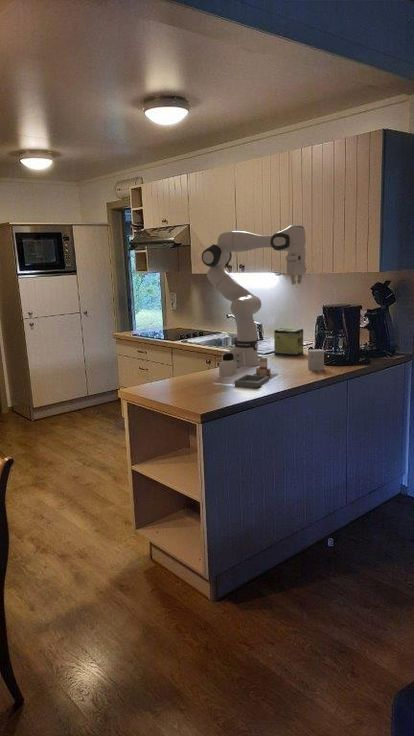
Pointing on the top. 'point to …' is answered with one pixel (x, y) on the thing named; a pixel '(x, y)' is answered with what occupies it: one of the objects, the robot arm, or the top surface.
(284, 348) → the protein box
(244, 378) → the tray
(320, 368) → the small box
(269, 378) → the clip holder
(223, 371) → the medicine bottle
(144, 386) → the top surface
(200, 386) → the top surface
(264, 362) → the fuse
